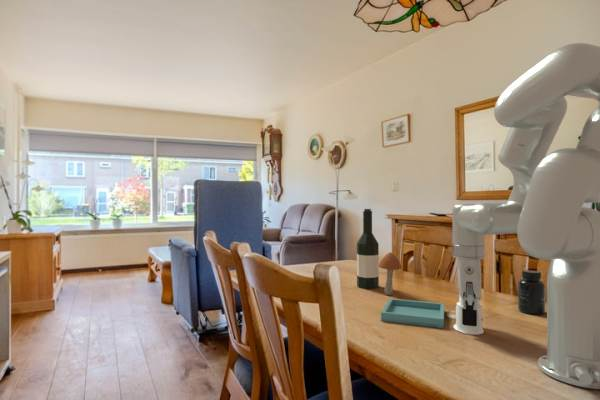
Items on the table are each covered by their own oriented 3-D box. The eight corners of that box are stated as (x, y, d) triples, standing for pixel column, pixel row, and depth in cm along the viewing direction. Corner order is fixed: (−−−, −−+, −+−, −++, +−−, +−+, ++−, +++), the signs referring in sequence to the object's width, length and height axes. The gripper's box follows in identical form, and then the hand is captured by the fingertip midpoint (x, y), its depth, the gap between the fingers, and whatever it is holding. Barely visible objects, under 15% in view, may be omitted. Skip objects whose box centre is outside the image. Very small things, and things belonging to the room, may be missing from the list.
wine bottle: (352, 285, 146) (352, 208, 146) (370, 283, 149) (370, 208, 149) (364, 289, 138) (364, 209, 138) (383, 287, 142) (383, 209, 142)
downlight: (446, 326, 97) (447, 288, 97) (466, 323, 100) (467, 286, 99) (469, 338, 90) (471, 297, 89) (491, 334, 92) (493, 294, 92)
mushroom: (406, 296, 128) (406, 253, 128) (387, 298, 125) (387, 254, 125) (392, 291, 136) (392, 250, 136) (374, 293, 133) (374, 251, 133)
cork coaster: (481, 323, 99) (481, 321, 99) (445, 319, 103) (445, 318, 103) (479, 314, 108) (479, 312, 108) (446, 310, 111) (446, 309, 111)
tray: (443, 328, 96) (443, 319, 96) (381, 320, 102) (381, 312, 102) (444, 311, 111) (444, 303, 111) (389, 305, 117) (389, 298, 117)
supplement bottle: (549, 316, 106) (549, 274, 106) (523, 314, 107) (523, 273, 108) (539, 309, 113) (539, 269, 113) (514, 308, 114) (514, 269, 114)
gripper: (487, 257, 85) (488, 333, 85) (481, 248, 101) (482, 312, 101) (452, 255, 88) (452, 329, 88) (452, 247, 104) (452, 309, 104)
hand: (468, 319), depth 95 cm, fingers open, 8 cm apart
